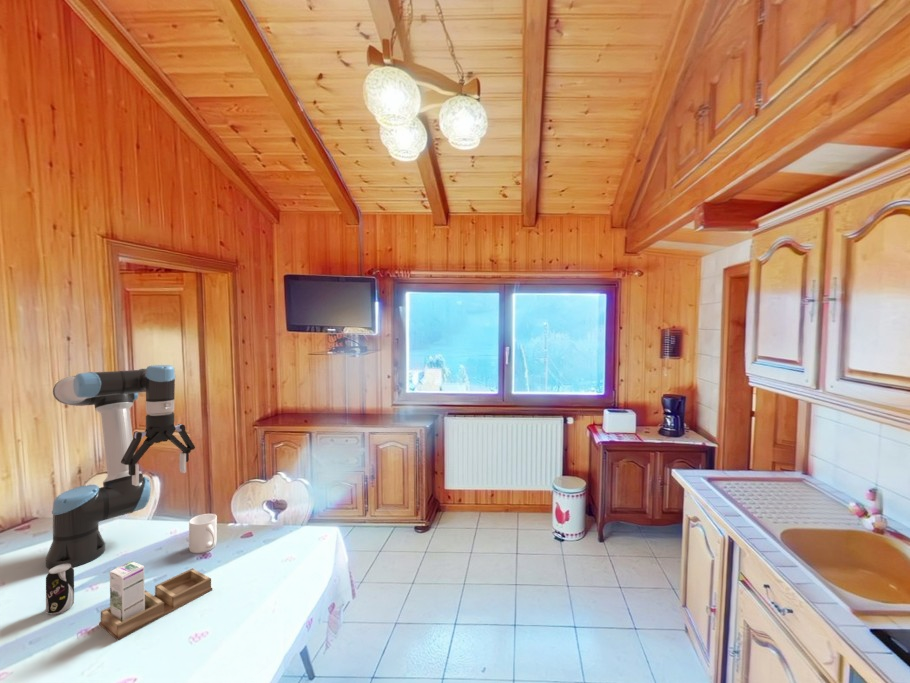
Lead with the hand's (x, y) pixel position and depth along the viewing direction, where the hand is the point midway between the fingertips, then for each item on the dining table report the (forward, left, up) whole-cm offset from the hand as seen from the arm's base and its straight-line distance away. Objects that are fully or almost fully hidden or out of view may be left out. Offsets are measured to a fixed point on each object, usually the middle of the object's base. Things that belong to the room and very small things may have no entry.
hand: (160, 478), depth 132 cm
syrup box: (+17, -16, -31) cm, 39 cm away
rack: (+17, -8, -32) cm, 37 cm away
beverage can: (-5, -23, -32) cm, 39 cm away
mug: (-3, +16, -32) cm, 36 cm away
